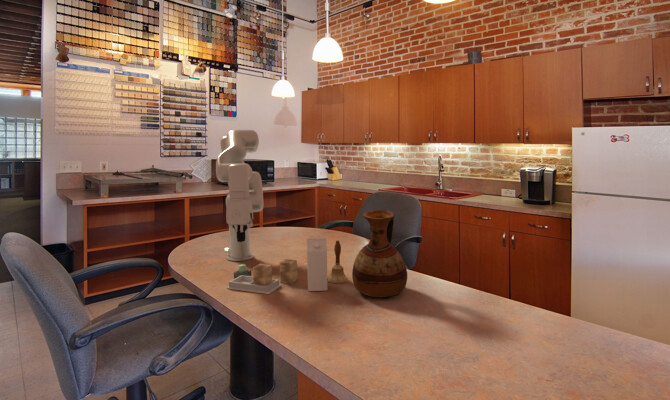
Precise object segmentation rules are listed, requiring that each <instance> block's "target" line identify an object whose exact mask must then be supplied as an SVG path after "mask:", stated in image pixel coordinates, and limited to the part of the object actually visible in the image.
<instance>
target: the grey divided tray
mask: <svg viewBox="0 0 670 400" xmlns="http://www.w3.org/2000/svg"><path fill="white" fill-rule="evenodd" d="M281 287H282V285H281V284H280V278H279V279H278V278H272V283H271V284H269V285H268V286H264V285H256V284H253V275H252V276H244V275H241V276H239V277H237V278H235V279H234V278H233V279H231V280H229V281H228V286H227V287H226V289H229V290H235V291H244V292H250V293H258V294H264V295H265V294H266V295H270V294H272V293H273V292H275V291H276V290H277V289H279V288H281Z"/></svg>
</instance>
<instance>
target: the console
mask: <svg viewBox="0 0 670 400" xmlns="http://www.w3.org/2000/svg"><path fill="white" fill-rule="evenodd" d="M241 275H244V276H253V273H252V270H251V269H246V272H245V273H239V269H238V270H236V271H234V272H233V279H235V278H237V277H239V276H241Z"/></svg>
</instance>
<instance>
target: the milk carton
mask: <svg viewBox="0 0 670 400" xmlns="http://www.w3.org/2000/svg"><path fill="white" fill-rule="evenodd" d="M327 248H328V247H327V238H326V237H316V238H314V237H312V238H311V237H310V238H309V237H308V238H306V261H307V262H306V263H307V291H308V292H317V291H318V292H321V291H323V292H324V291H328V281H327V279H328V249H327Z"/></svg>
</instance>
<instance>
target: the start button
mask: <svg viewBox="0 0 670 400" xmlns="http://www.w3.org/2000/svg"><path fill="white" fill-rule="evenodd" d="M238 270H239V273H245V272H246V270H247V264H245V263H244V264H243V263H242V264H238Z"/></svg>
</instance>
